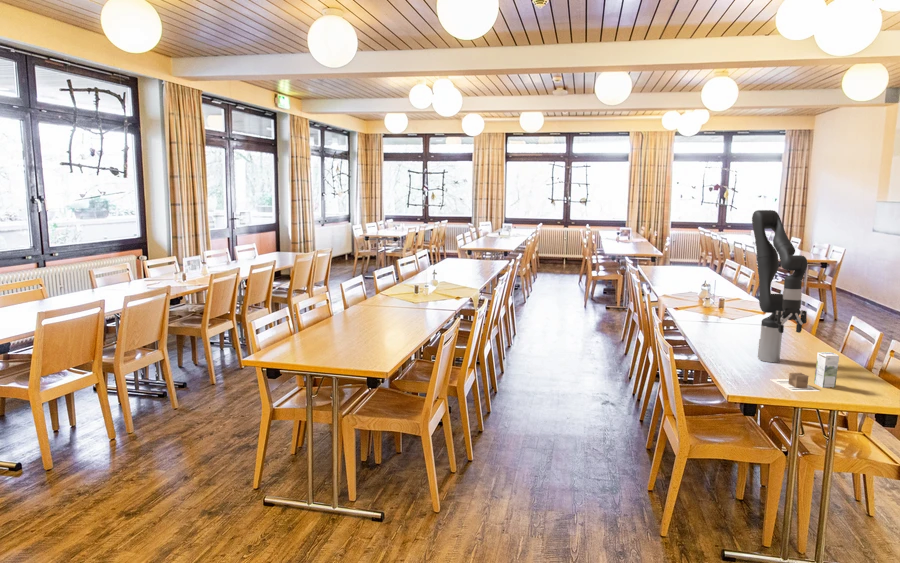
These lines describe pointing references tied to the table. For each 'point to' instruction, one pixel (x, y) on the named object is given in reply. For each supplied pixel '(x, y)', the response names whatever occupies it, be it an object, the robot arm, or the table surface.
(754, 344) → the table surface
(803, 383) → the walnut block
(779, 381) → the letter
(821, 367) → the syrup box
